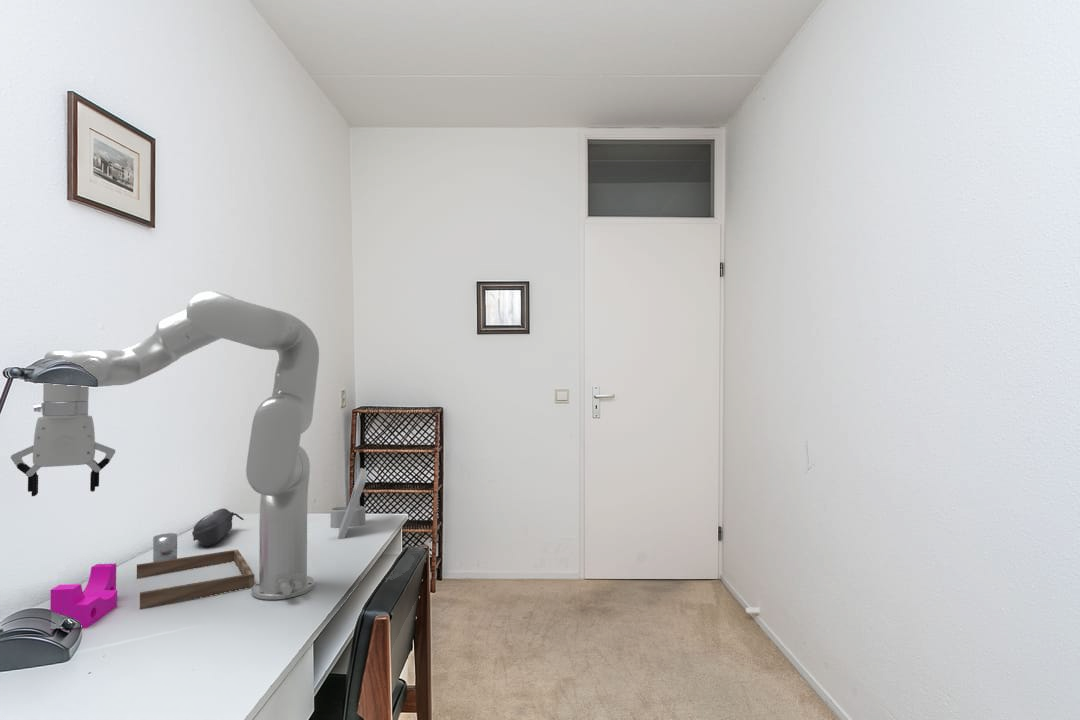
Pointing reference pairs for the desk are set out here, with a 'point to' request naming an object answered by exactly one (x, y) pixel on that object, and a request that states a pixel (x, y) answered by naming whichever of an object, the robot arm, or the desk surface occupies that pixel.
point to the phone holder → (350, 509)
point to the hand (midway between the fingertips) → (64, 492)
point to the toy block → (87, 596)
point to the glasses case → (213, 527)
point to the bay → (194, 589)
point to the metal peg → (164, 547)
